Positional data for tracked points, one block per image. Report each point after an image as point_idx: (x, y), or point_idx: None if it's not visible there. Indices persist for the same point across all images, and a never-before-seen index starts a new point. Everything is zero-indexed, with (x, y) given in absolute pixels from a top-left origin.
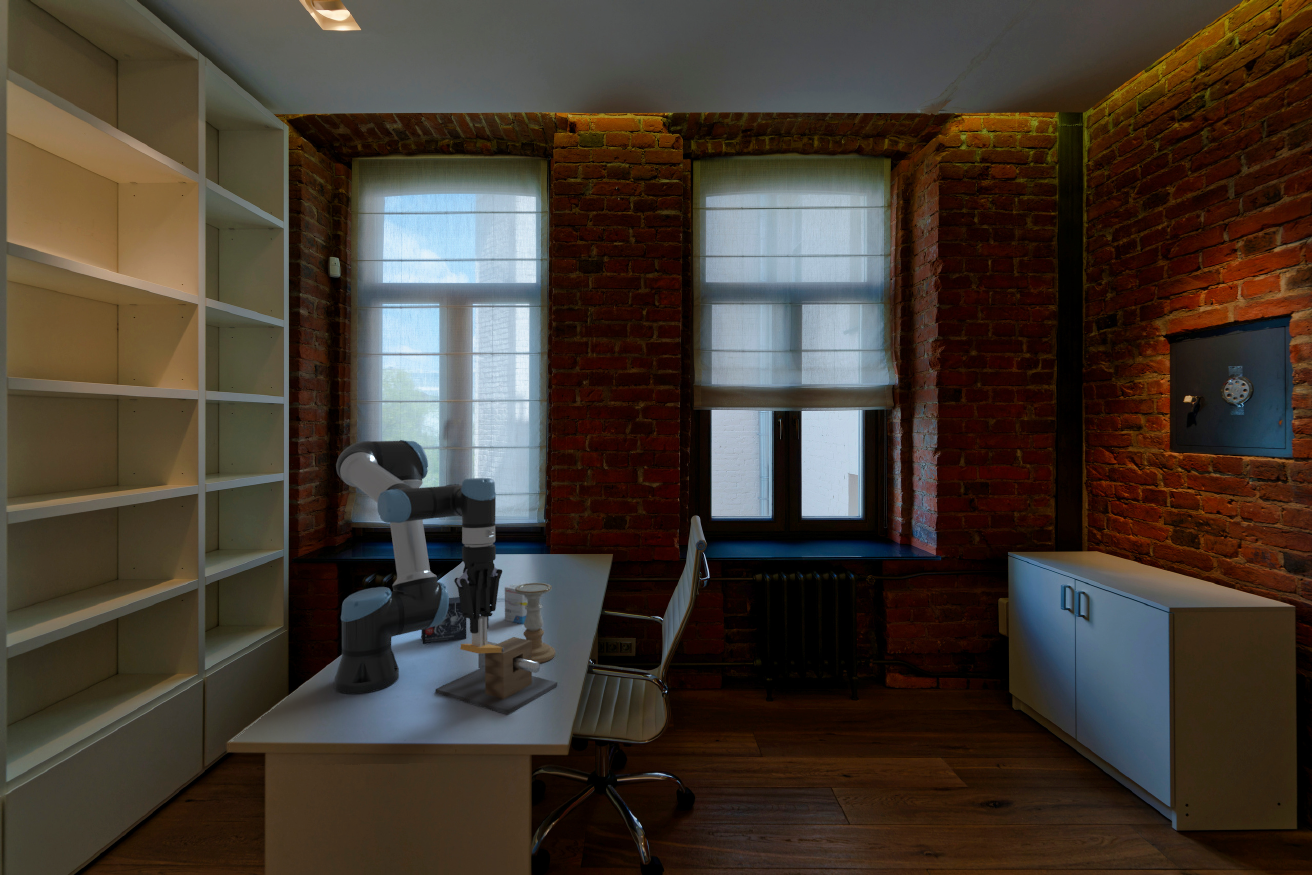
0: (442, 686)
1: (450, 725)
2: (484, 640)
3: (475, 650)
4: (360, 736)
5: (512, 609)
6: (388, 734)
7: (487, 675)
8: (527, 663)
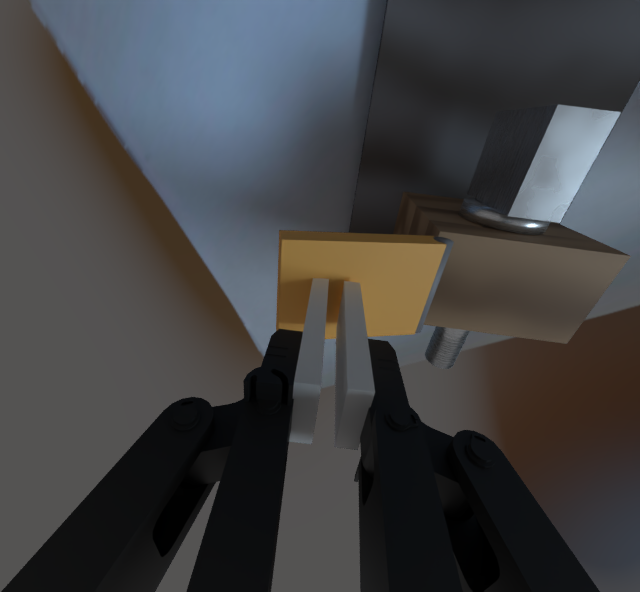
0: None
1: (248, 208)
2: (336, 338)
3: (277, 320)
4: (69, 5)
5: None
6: (131, 87)
7: (412, 213)
8: (441, 344)
